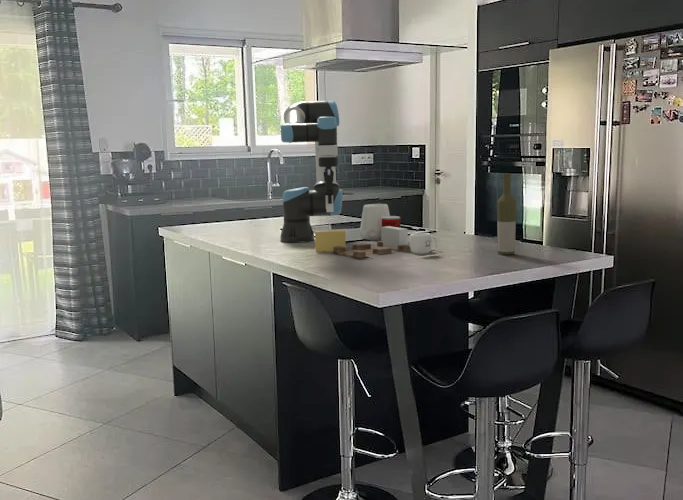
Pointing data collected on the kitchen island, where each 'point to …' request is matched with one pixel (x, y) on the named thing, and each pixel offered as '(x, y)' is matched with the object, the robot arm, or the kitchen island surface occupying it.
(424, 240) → the mug
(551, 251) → the kitchen island surface
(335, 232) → the ochre bar
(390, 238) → the grey bar
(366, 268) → the kitchen island surface
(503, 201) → the bottle
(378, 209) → the vase
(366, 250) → the comb rack
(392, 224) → the canned food
